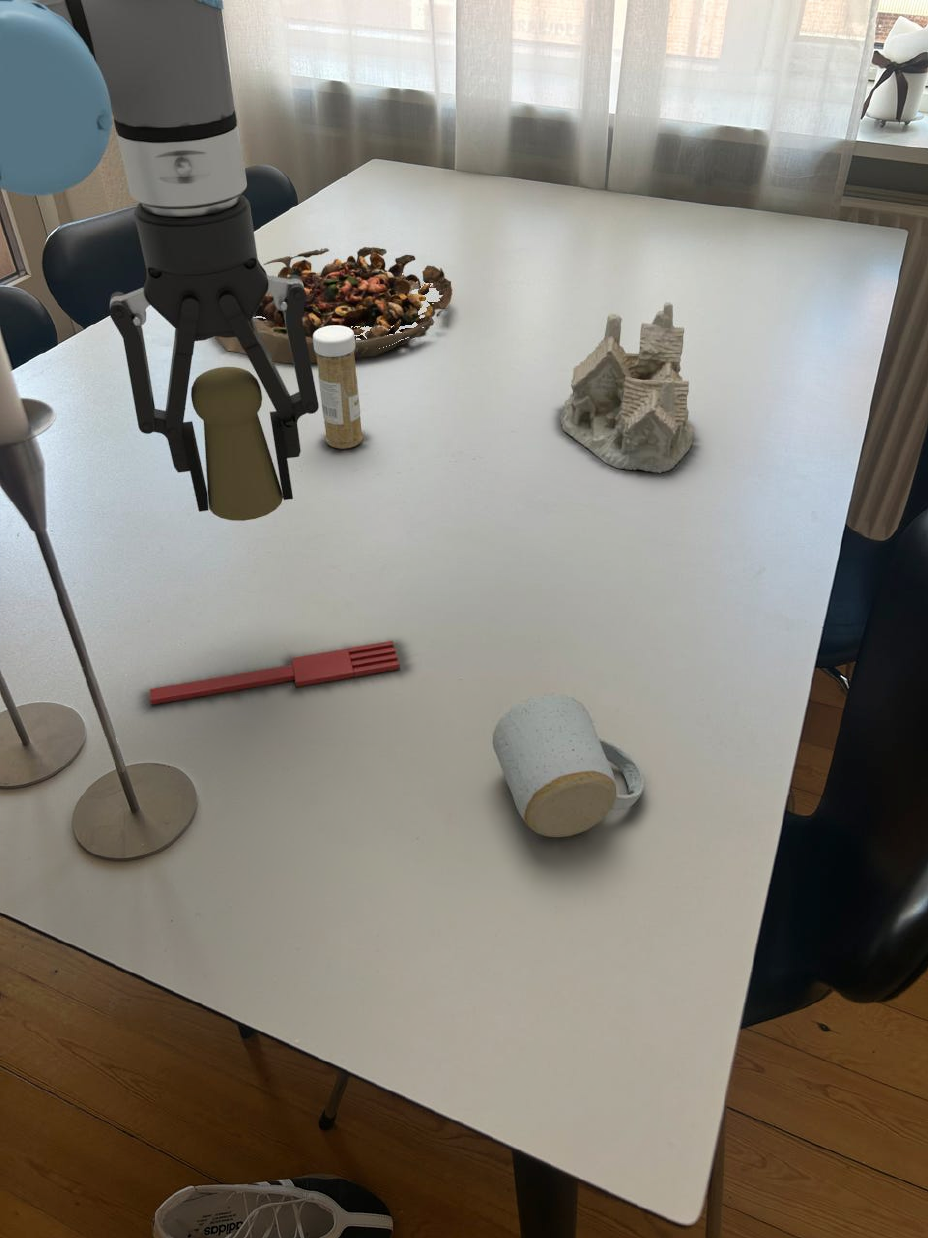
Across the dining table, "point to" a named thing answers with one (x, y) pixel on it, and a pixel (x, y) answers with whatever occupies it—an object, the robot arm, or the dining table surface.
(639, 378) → the ceramic cottage
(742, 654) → the dining table surface
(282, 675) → the fork
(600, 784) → the ceramic mug
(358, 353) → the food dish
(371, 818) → the dining table surface
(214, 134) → the robot arm
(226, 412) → the tan peg doll
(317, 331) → the sprinkles bottle
